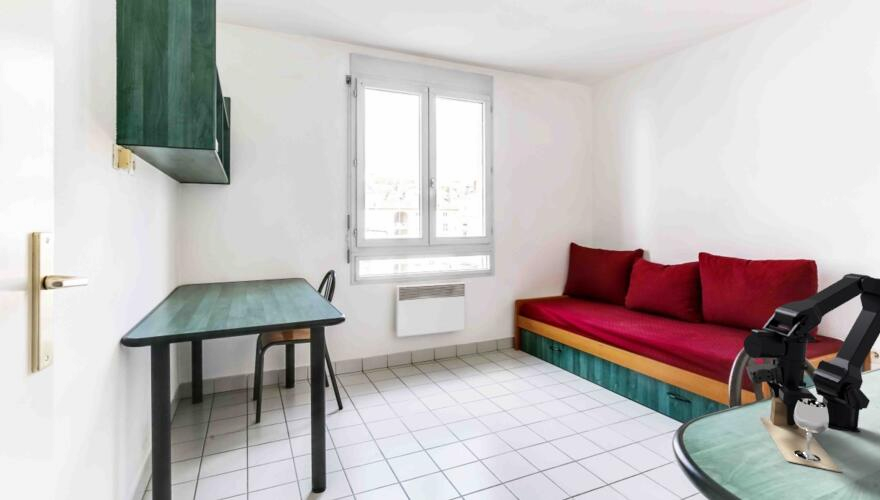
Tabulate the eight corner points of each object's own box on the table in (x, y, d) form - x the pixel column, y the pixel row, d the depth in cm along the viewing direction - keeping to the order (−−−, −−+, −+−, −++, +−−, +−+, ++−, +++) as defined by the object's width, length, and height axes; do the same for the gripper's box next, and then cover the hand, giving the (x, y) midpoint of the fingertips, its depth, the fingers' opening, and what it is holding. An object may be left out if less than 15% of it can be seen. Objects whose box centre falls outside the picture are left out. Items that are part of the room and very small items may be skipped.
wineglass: (831, 465, 90) (837, 410, 89) (800, 461, 92) (805, 407, 91) (813, 451, 96) (818, 398, 95) (784, 447, 97) (789, 396, 96)
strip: (803, 425, 108) (805, 401, 108) (841, 472, 88) (844, 443, 88) (759, 418, 112) (761, 394, 112) (787, 461, 92) (789, 433, 91)
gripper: (742, 343, 119) (738, 398, 120) (760, 363, 102) (755, 427, 103) (793, 349, 114) (787, 406, 115) (820, 371, 97) (814, 438, 98)
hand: (784, 418), depth 108 cm, fingers open, 8 cm apart
